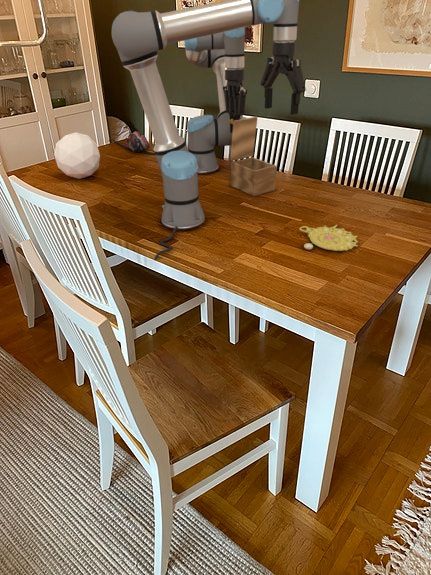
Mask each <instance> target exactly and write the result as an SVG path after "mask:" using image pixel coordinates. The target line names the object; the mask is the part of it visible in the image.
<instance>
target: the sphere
mask: <svg viewBox="0 0 431 575" xmlns="http://www.w3.org/2000/svg"><path fill="white" fill-rule="evenodd" d="M53 156H54V159H55V162H56V165H57V168H58V169H59V170H60V171H62V173H64V174H65V175H66V176H67V177H71V178H74V179H77V180H82V179H84V178H87V177H90V176H92V175H93V174H94V173H95V172H96V171H97V170H98V169H99V167H100V161H101V154H100V151H99V147H98V144H97V143H96V141H94V140H93V139H92V138H91V137H90V136H89V135H88V134H84V133H80V132H76V131H75V132H72V133H69V134H65V135H63V137H61V139H59V140H58V141H57V142H56V143H55V149H54V155H53Z"/></svg>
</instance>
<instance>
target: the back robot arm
mask: <svg viewBox="0 0 431 575" xmlns="http://www.w3.org/2000/svg"><path fill="white" fill-rule="evenodd" d="M245 41H246V27H243V28H239V29H234V30H230V31H225V32H221V33H216V34H211V35H207V36H202V37H198V38H193V39H189V40H184V50H185V57H186V59H187V61H188V62H189V63H190V64H192V65H193V66H195V67H199V68H202V69H212V71H213V73H214V74H215V76H216V81H217V82H216V84H217V85H216V86H217V95H218V96H217V97H218V106H219V113H218V114H217V117H216V118H214V116H213V115H212V114H202V115H201V114H200V115H198V116H197V115H196V116H194V117H192V118H190V119H188V120H187V122H186V123H187V124H186V126H187V127H186V128H187V129H186V132H187V142H188V143H187V144H188V145H187V148H188V151H189V153H192V154H193V155H194V156H195V157H196V160H197V164H198V169H197V175H210V174H214V173H216V172H217V171H219V168H220V167H219V166H220V165H219V162H218V159H217V156H216V153H215V147H228V146H230V147H231V145H232V133H233V124H231V123H230V124H229V123H228V120H229V119H233V121H234V120H240V118H241V119H245V118H247V117H246V116H244V115H245V106H246V98H247V94H248V89H245V88H244V85H243V84H244V83H243V81H244V80H245V69H244V68H245V48H246V47H245V46H246V45H245V43H246V42H245ZM111 141H113V142H114V143H116V144H118V145H119V146H121V147H123V148H126V149H128V150H131V151H132V149H130V147H129V146H127V145H123V144H122V143H121V142H119V141H116V140H115V139H114V138H109V139H108V142H111ZM139 153H144V154H147V155H148V154H149V155H154V156H156V155H155V153H154V152H151V151H147V150H146V151H145V150H143V151H140V152H139Z"/></svg>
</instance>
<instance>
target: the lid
mask: <svg viewBox="0 0 431 575" xmlns="http://www.w3.org/2000/svg"><path fill="white" fill-rule="evenodd" d="M228 123H229V124H230V123H231V124H233V133H232V145H231V146H230V157H229V161H230V162H234V161H238V160H242V159H246V158H251V157H254V151H255V141H256V134H257V126H258V116H251V117H246V118H245V119H241V118H240V120H234V121H233V119H229V120H228Z"/></svg>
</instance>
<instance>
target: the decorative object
mask: <svg viewBox="0 0 431 575" xmlns="http://www.w3.org/2000/svg"><path fill="white" fill-rule="evenodd" d="M303 228H304V229H305V230H304V229H303ZM299 231H300V232H303V233H305V234H307V237H308V238H309V240H310V241H311V243H304V244H303V248H304V249H305V250H313V249H314V245H315V246H316V247H318V248H321V249H324V250H328V251H335V252H341V251H348V250H352V249H354V247H356V248H358V247H359V245H358V244H357V243H359V240H357V238H359V237H358V235H353V234H352V231H347V230H346V229H345V228H344V227H342V228H338V224H335V225H333V226H331V227H328V226H327V225H326V224H325V225H323V226H322V227H321V226H317V227H316V228H314V227H309V226H308V225H302V226H300V227H299ZM313 244H314V245H313Z"/></svg>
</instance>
